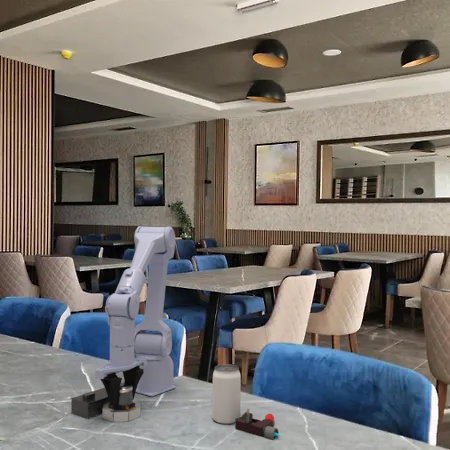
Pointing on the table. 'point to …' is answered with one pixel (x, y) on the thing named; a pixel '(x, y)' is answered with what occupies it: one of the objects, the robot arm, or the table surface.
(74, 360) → the table surface
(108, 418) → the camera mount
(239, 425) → the toy gun
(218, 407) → the can
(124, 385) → the lens
